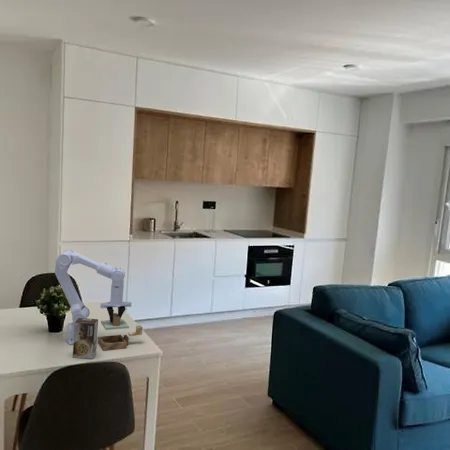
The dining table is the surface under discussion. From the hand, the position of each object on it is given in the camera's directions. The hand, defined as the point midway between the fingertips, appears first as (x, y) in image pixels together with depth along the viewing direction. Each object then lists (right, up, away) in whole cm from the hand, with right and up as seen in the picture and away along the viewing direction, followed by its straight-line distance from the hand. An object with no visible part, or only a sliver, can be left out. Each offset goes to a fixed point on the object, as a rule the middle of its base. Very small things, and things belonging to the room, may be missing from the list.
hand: (114, 321), depth 216 cm
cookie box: (-9, -12, -17) cm, 22 cm away
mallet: (+9, -7, +2) cm, 12 cm away
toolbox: (-1, -11, -3) cm, 11 cm away
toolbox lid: (0, -2, 0) cm, 2 cm away
